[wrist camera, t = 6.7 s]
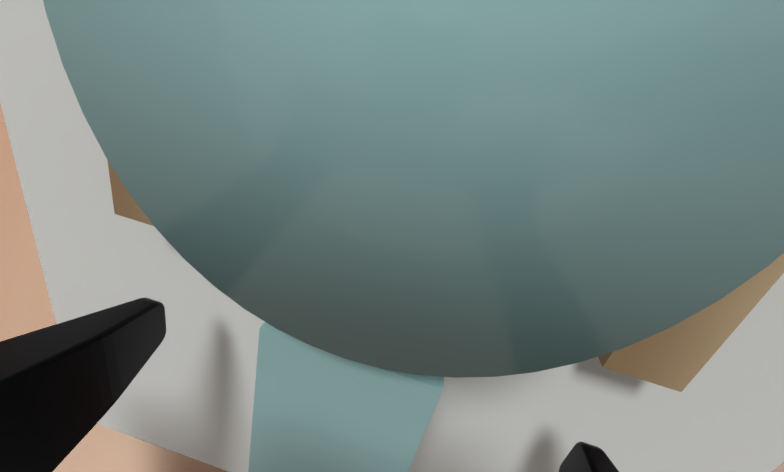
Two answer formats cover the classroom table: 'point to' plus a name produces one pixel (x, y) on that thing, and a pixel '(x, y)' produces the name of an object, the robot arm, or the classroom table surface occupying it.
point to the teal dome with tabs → (437, 184)
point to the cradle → (645, 358)
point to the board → (241, 328)
